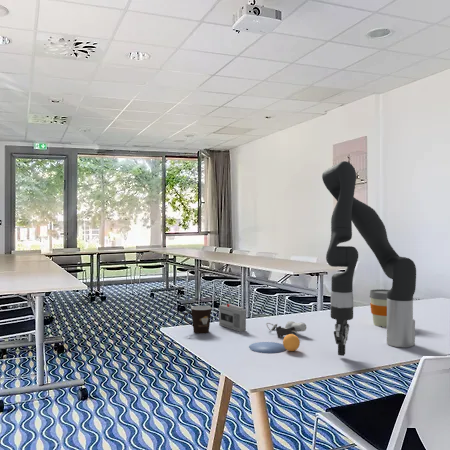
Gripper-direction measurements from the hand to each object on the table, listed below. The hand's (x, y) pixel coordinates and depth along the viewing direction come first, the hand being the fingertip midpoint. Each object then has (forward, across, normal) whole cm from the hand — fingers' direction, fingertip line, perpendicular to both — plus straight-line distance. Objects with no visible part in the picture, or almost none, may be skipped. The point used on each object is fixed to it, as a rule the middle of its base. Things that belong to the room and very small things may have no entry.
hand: (341, 354), depth 156 cm
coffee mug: (+1, -8, -62) cm, 63 cm away
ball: (-2, 0, -18) cm, 18 cm away
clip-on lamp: (+2, -22, -28) cm, 36 cm away
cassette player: (+1, -21, -52) cm, 56 cm away
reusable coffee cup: (+1, -58, +6) cm, 58 cm away
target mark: (+1, 0, -27) cm, 27 cm away
